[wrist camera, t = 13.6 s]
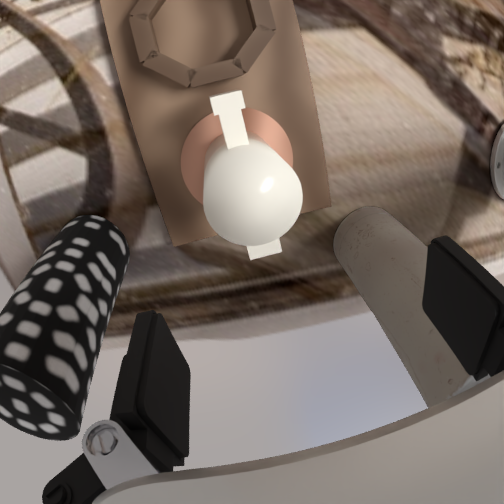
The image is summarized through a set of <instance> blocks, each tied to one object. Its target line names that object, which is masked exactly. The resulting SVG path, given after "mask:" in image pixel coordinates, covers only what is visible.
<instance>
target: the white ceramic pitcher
mask: <svg viewBox="0 0 504 504" xmlns="http://www.w3.org/2000/svg"><path fill="white" fill-rule="evenodd" d="M209 97H210V101H211V105H212V109H213V113H214V116H215V115H219V119H220V123H221V127H222V131H223V134H221V135H220V136H218V137H217V138H216V139H215V140H214V141H213V142H212V143H211V144H210V146H209V148H208V149H207V152H206V155H205V161H204V188H203V206H204V212H205V215H206V218H207V220H208V222H209V224H210V226H211V227H212V228H213V229H214V231H215V232H216V233H217V234H218V235H220V236H221V237H222V238H224V239H226V240H227V241H230V242H232V243H235V244H238V245H244V246H247V249H248V253H249V257H250V260H253V259H257V258H261V257H264V256H268V255H272V254H276V253H280V252H282V250H281V245H280V240H279V237H281V236H282V235H284V234H285V233H286V232H287V231H288V230H289V229H290V228H291V227H292V226H293V224H294V223H295V221H296V220H297V218H298V216H299V214H300V211H301V207H302V201H303V193H302V187H301V183H300V181H299V178H298V176H297V175H296V173H295V172H294V170H293V169H292V168H291V167H290V166H289V165H288V164H287V163H286V162H285V161H284V160H283V159H282V158H281V157H280V156H279V155H278V154H277V153H276V152H275V151H274V150H273V149H272V148H271V147H270V146H269V145H268V144H267V143H266V142H265V141H264V140H263V139H262V138H261V137H260V136H258V135H257V134H255V133H253V132H250V131H247V130H246V128H245V124H244V120H243V116H242V112H241V109H244V108H245V103H244V99H243V95H242V91H241V90H233V91H229V92H225V93H221V94H217V95H213V96H209Z"/></svg>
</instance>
